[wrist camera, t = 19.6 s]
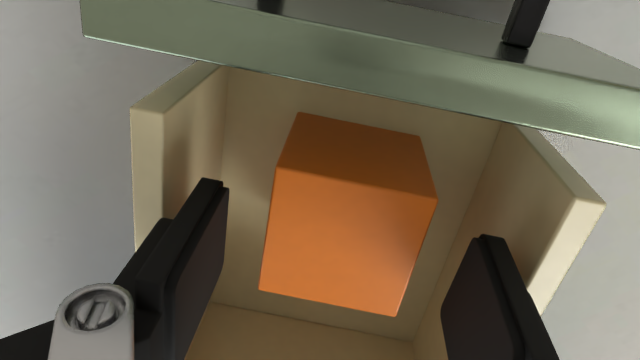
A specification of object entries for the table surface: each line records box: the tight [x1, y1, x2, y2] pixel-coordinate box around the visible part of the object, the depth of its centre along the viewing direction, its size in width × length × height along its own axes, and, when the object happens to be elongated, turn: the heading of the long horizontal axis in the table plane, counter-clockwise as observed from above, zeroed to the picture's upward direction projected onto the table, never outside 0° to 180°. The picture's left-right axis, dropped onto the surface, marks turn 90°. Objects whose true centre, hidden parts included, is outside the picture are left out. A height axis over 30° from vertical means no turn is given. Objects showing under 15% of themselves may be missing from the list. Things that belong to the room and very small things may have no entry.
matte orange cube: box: [258, 112, 439, 317], centre depth 14 cm, size 4×4×4 cm
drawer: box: [80, 0, 640, 360], centre depth 13 cm, size 20×13×7 cm, turn 170°
